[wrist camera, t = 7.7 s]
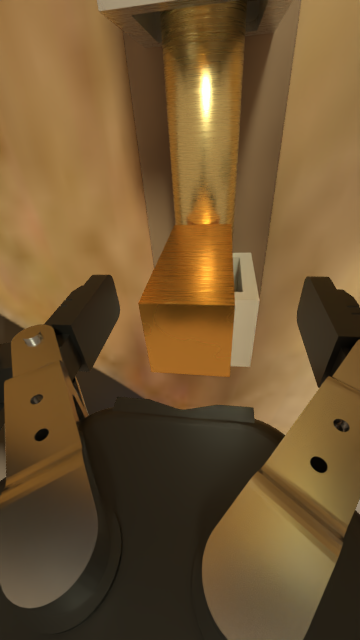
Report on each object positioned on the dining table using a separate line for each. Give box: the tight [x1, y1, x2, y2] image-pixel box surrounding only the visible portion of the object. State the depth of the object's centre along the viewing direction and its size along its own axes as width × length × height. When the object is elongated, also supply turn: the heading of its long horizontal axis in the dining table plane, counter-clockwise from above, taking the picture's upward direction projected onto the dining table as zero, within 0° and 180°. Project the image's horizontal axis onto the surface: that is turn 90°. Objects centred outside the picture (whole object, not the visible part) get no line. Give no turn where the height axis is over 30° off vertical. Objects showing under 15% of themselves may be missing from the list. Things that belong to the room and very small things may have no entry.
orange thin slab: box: [138, 0, 247, 377], centre depth 11 cm, size 3×17×10 cm, turn 4°
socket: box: [231, 253, 260, 367], centre depth 18 cm, size 6×5×6 cm
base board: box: [123, 0, 301, 299], centre depth 15 cm, size 8×28×1 cm, turn 4°
